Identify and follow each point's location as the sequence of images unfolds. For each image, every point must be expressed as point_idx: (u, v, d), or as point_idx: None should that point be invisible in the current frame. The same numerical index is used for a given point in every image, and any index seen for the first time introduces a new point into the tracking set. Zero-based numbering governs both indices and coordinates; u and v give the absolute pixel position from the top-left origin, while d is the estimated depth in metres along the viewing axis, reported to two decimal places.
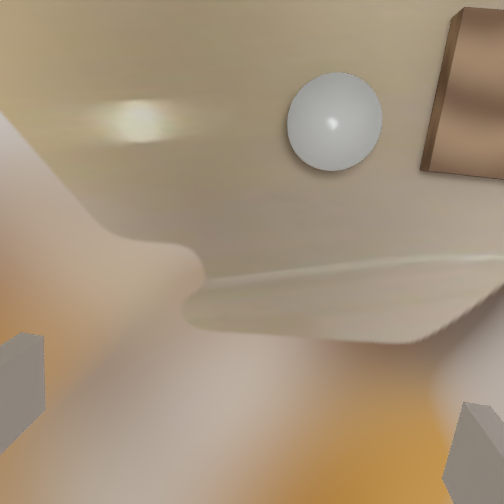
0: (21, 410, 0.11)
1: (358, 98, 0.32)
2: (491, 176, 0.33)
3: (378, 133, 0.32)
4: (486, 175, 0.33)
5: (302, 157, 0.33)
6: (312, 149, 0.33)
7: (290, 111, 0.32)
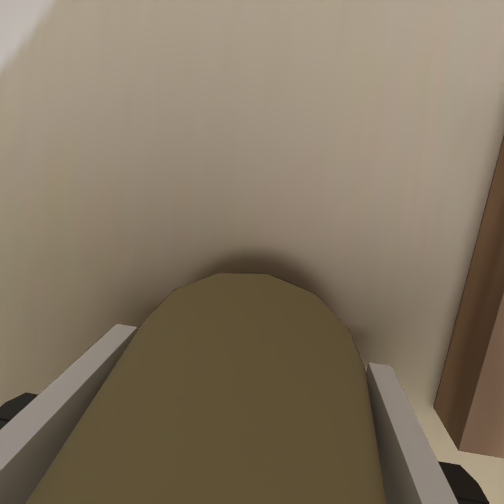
0: None
1: None
2: None
3: None
4: None
5: None
6: None
7: None
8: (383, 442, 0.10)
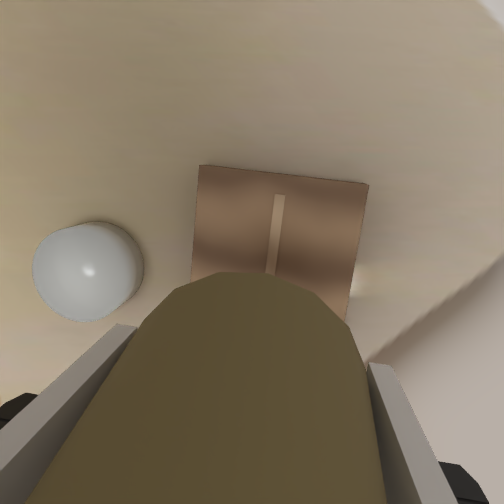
0: None
1: (93, 249, 0.30)
2: None
3: (123, 279, 0.31)
4: None
5: (59, 313, 0.32)
6: (65, 304, 0.32)
7: (33, 271, 0.31)
8: (382, 442, 0.10)
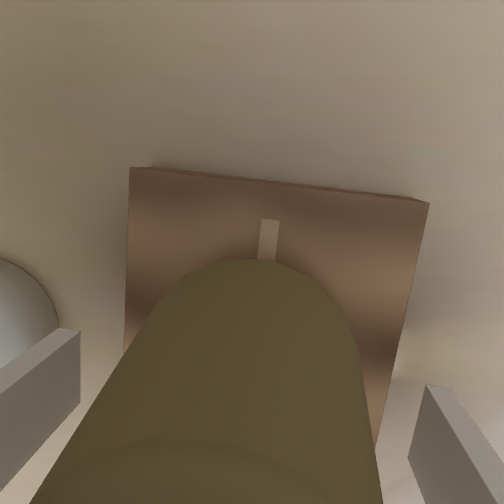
0: (61, 401, 0.12)
1: None
2: None
3: (3, 356, 0.18)
4: None
5: None
6: None
7: None
8: (457, 479, 0.09)
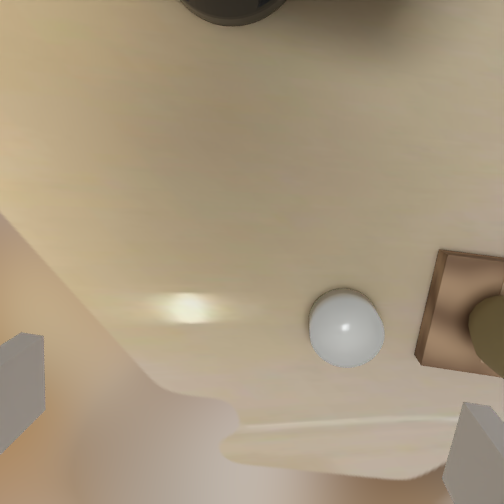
0: (21, 410, 0.11)
1: (356, 312, 0.41)
2: (470, 371, 0.42)
3: (382, 329, 0.41)
4: (466, 371, 0.42)
5: (334, 364, 0.42)
6: (339, 357, 0.42)
7: (311, 338, 0.42)
8: None
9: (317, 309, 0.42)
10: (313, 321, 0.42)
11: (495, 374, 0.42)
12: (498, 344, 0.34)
